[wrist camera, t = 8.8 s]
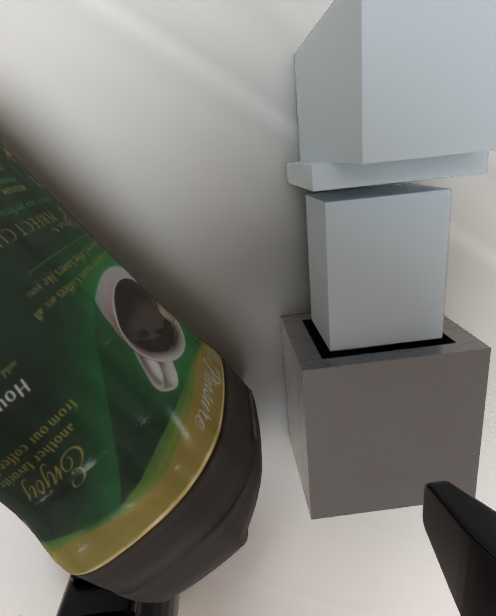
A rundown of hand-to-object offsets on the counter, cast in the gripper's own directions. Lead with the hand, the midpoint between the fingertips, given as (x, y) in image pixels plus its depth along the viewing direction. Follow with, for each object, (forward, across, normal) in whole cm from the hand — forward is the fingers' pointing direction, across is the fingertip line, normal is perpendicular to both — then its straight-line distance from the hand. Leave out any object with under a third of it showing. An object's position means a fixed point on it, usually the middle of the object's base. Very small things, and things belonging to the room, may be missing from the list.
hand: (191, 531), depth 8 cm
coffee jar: (+8, +11, -8) cm, 16 cm away
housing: (+13, -7, +4) cm, 15 cm away
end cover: (+13, -7, -5) cm, 16 cm away
